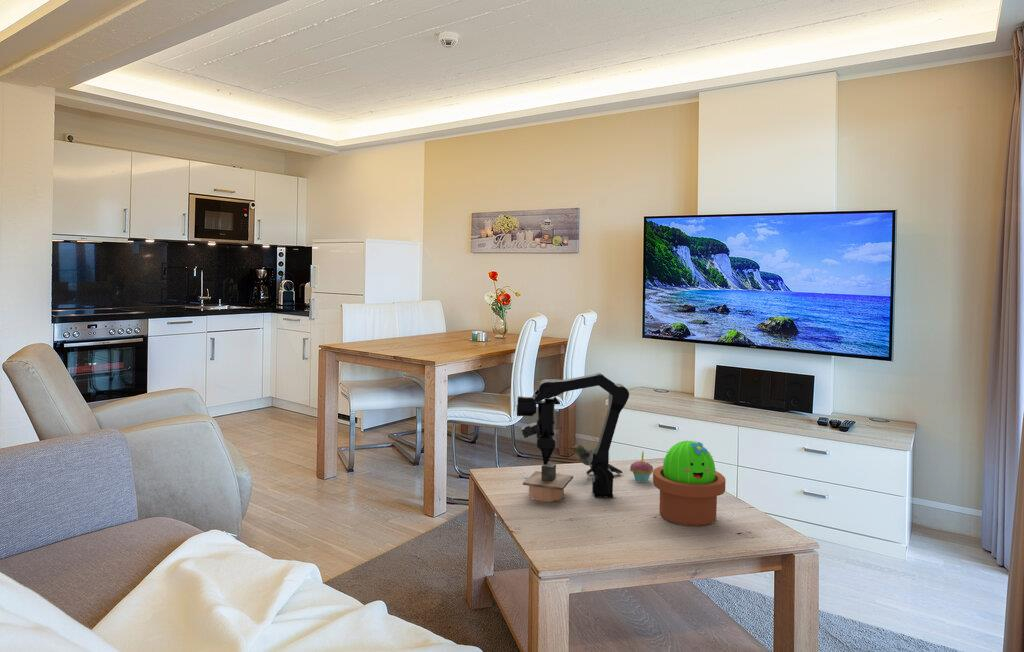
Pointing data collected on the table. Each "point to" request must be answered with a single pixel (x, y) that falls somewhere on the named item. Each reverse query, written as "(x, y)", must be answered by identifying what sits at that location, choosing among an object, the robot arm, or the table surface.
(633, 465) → the cupcake
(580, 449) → the bird figurine
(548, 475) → the lid
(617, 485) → the table surface
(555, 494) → the bowl
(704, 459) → the potted cactus
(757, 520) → the table surface
